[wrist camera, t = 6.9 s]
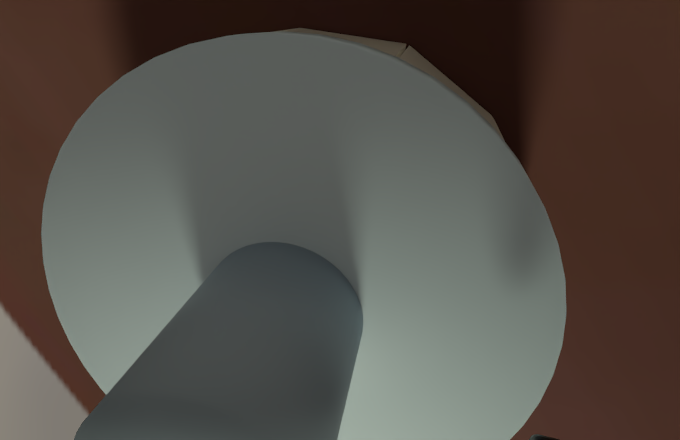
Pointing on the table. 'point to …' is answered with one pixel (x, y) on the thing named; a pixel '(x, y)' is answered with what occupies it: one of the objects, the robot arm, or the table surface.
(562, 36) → the table surface
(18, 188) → the table surface
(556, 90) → the table surface
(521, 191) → the lid
